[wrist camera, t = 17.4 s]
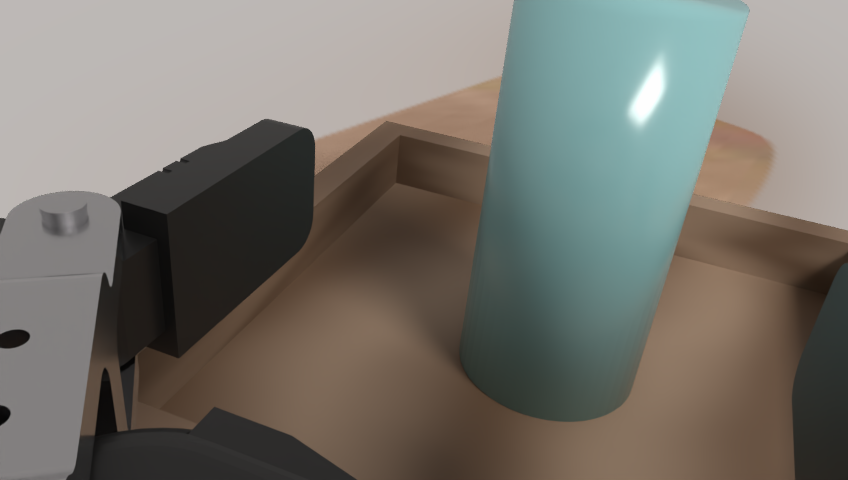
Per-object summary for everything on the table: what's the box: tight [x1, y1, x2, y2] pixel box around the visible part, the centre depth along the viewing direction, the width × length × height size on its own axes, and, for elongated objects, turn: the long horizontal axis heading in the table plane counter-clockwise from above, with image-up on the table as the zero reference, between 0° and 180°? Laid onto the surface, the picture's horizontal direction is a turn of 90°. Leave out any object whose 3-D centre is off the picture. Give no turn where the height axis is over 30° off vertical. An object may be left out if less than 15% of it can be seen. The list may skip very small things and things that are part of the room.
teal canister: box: [459, 0, 749, 422], centre depth 19 cm, size 5×5×10 cm
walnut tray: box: [136, 121, 848, 480], centre depth 21 cm, size 18×18×3 cm
